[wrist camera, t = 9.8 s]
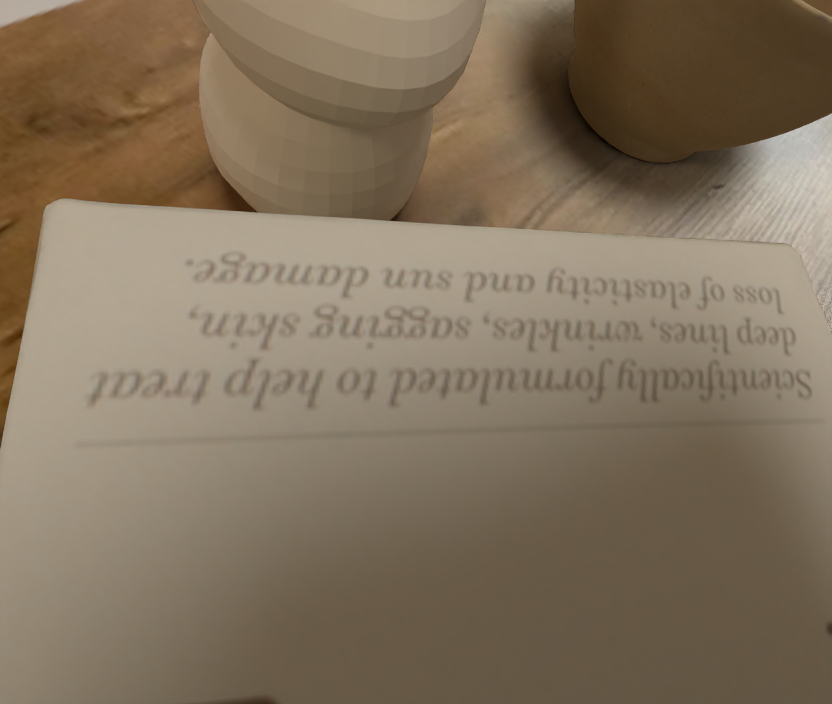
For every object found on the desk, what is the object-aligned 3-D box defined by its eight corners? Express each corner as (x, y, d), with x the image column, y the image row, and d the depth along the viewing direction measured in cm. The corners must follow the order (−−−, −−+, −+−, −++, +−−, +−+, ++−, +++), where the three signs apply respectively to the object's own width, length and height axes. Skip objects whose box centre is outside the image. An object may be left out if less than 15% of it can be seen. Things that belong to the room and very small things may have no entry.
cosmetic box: (448, 413, 15) (827, 197, 4) (459, 556, 14) (1059, 826, 3) (258, 418, 14) (27, 115, 3) (251, 577, 13) (-233, 1259, 1)
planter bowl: (660, 268, 25) (909, 115, 14) (460, 59, 26) (559, -223, 15) (787, 136, 30) (1030, -42, 20) (618, -32, 31) (768, -283, 21)
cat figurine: (279, 309, 19) (198, -162, 5) (162, 80, 21) (-130, -727, 7) (452, 238, 22) (699, -187, 8) (337, 42, 24) (376, -583, 10)
